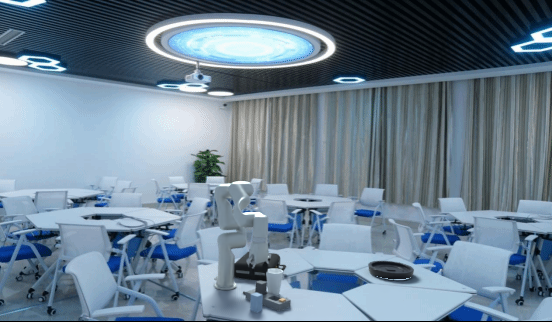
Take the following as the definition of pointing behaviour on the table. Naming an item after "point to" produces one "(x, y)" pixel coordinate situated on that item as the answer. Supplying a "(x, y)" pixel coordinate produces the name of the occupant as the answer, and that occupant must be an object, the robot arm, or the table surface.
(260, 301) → the block
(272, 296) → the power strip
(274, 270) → the foam cup
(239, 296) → the table surface
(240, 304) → the table surface
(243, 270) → the briefcase
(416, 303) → the table surface
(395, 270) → the round tray
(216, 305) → the table surface
